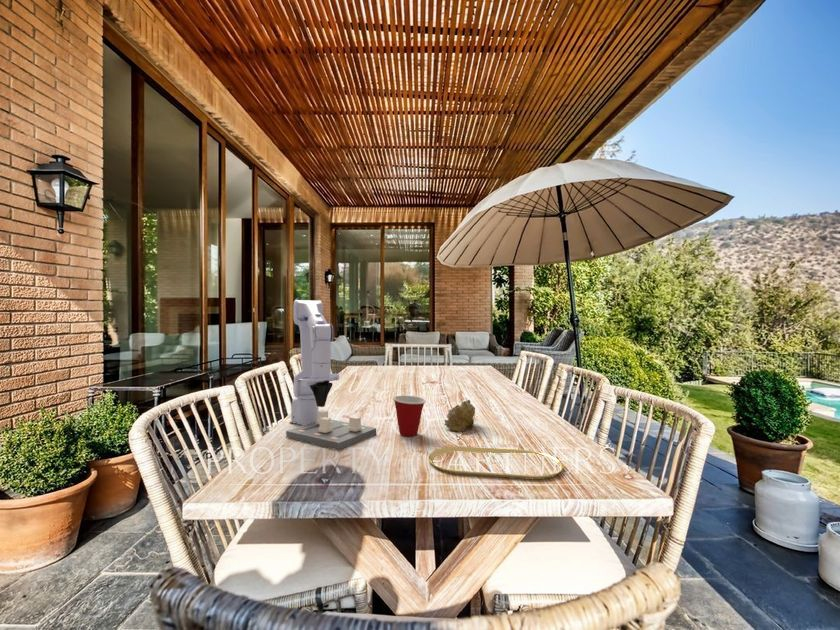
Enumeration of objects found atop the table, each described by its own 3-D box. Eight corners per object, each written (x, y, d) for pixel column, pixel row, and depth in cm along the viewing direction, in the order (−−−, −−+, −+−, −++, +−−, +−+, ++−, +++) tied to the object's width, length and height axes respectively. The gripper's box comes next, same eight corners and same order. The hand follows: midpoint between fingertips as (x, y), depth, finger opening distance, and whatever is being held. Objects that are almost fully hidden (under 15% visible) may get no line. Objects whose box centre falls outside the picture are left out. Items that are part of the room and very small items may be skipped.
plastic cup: (427, 439, 130) (427, 401, 130) (393, 439, 129) (393, 401, 129) (424, 429, 141) (424, 394, 140) (392, 429, 140) (392, 394, 140)
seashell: (474, 425, 151) (473, 397, 152) (478, 432, 137) (477, 402, 138) (443, 425, 152) (443, 397, 153) (445, 432, 137) (444, 402, 138)
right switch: (347, 430, 131) (347, 417, 130) (354, 427, 133) (354, 415, 133) (355, 431, 129) (355, 419, 129) (362, 429, 132) (362, 416, 132)
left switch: (315, 423, 138) (315, 411, 138) (322, 421, 140) (322, 409, 140) (322, 425, 136) (322, 413, 136) (329, 422, 139) (329, 411, 139)
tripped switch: (317, 431, 129) (318, 418, 129) (325, 428, 132) (325, 416, 132) (325, 432, 127) (325, 420, 127) (332, 430, 130) (332, 417, 130)
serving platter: (569, 485, 97) (570, 478, 97) (423, 474, 103) (424, 468, 103) (555, 457, 116) (555, 451, 116) (432, 450, 121) (432, 444, 121)
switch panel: (286, 437, 130) (286, 430, 130) (326, 424, 145) (326, 418, 145) (338, 449, 119) (338, 442, 119) (376, 434, 134) (376, 427, 134)
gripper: (313, 366, 119) (313, 412, 119) (346, 361, 132) (346, 403, 132) (296, 364, 123) (296, 409, 123) (330, 359, 135) (329, 400, 135)
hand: (320, 406), depth 127 cm, fingers closed
